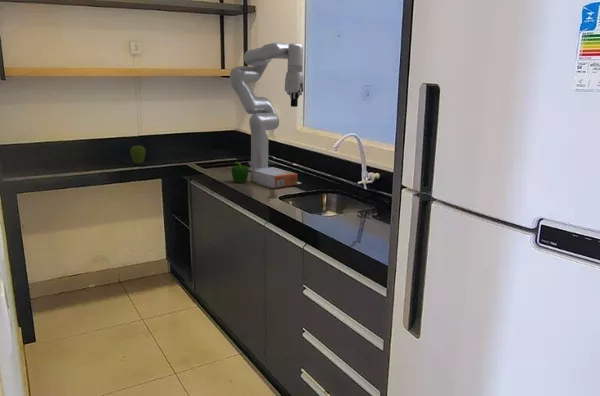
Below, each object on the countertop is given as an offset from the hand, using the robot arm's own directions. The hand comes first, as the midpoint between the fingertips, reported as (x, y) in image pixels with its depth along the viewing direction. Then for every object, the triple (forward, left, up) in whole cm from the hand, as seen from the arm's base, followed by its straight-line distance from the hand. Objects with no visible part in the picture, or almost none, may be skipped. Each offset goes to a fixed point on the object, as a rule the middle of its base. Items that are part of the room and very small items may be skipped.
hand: (294, 106), depth 260 cm
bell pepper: (-7, -28, -37) cm, 47 cm away
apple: (-77, -50, -37) cm, 99 cm away
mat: (+6, -14, -37) cm, 40 cm away
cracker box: (+16, -17, -34) cm, 41 cm away
